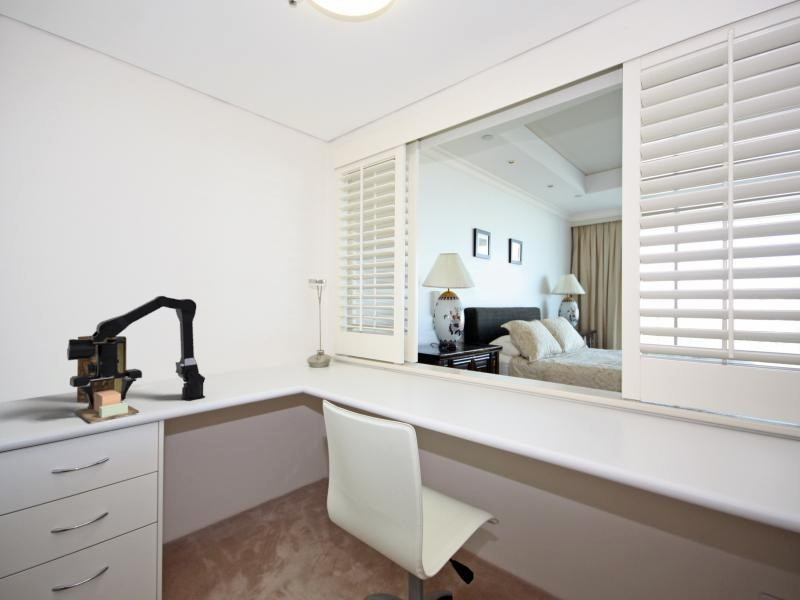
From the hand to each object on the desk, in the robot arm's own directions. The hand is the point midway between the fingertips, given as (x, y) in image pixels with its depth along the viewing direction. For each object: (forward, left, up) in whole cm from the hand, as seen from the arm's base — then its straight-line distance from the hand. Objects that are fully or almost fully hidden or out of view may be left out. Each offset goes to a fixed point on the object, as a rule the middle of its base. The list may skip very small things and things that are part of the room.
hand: (107, 402), depth 124 cm
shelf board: (0, 0, -4) cm, 4 cm away
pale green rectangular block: (0, +7, -4) cm, 8 cm away
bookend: (0, -7, -3) cm, 8 cm away
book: (-3, -21, -4) cm, 21 cm away
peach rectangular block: (0, 0, -3) cm, 3 cm away
